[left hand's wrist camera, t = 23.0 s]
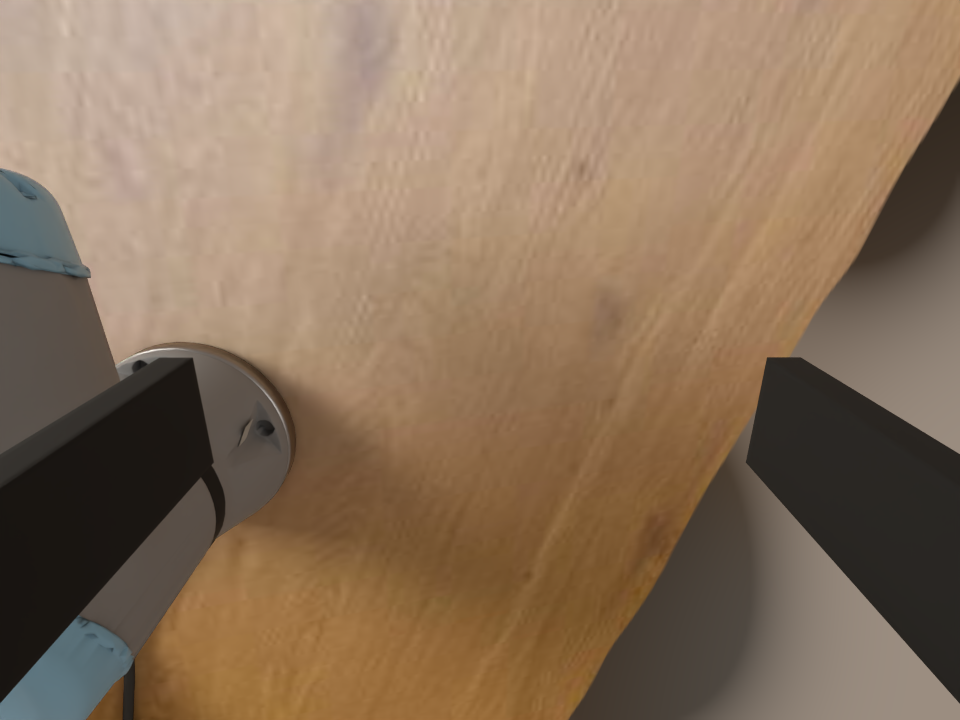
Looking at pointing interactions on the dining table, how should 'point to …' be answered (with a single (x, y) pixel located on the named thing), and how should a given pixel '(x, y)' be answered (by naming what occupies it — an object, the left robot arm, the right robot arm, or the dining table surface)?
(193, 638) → the dining table surface
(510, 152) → the dining table surface
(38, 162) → the dining table surface
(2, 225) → the left robot arm
